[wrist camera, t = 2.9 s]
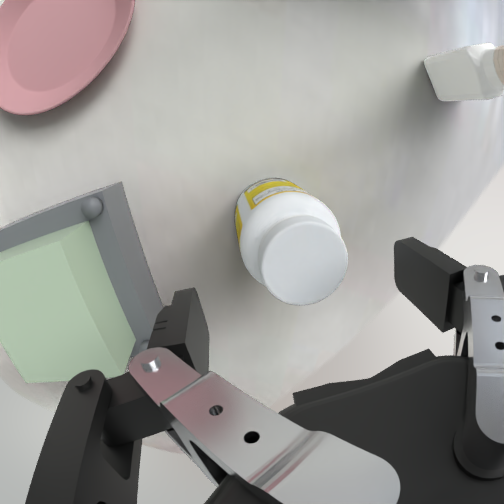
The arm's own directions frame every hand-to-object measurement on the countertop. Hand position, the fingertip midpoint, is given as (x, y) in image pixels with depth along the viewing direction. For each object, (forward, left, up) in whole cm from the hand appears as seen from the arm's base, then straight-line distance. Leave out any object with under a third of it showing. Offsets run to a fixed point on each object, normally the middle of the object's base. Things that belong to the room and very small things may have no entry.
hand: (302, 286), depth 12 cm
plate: (+12, -19, -12) cm, 26 cm away
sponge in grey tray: (+15, +1, -12) cm, 19 cm away
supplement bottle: (-1, 0, -12) cm, 12 cm away
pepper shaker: (-18, -9, -12) cm, 23 cm away
